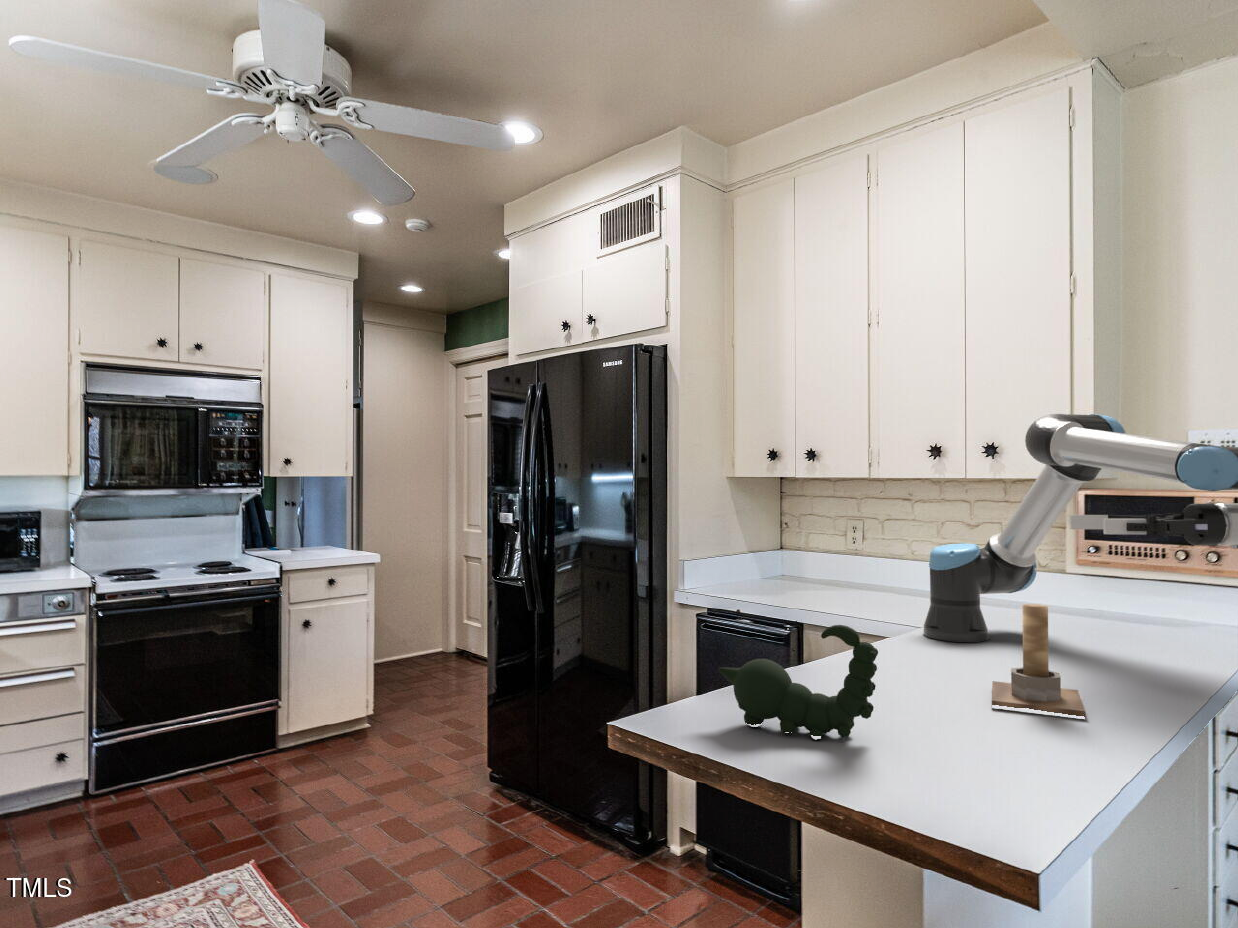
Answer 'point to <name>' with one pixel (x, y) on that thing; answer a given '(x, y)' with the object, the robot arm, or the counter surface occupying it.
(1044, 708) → the cup bracket
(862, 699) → the toy figurine
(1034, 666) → the oak cylinder
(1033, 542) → the robot arm
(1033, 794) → the counter surface
